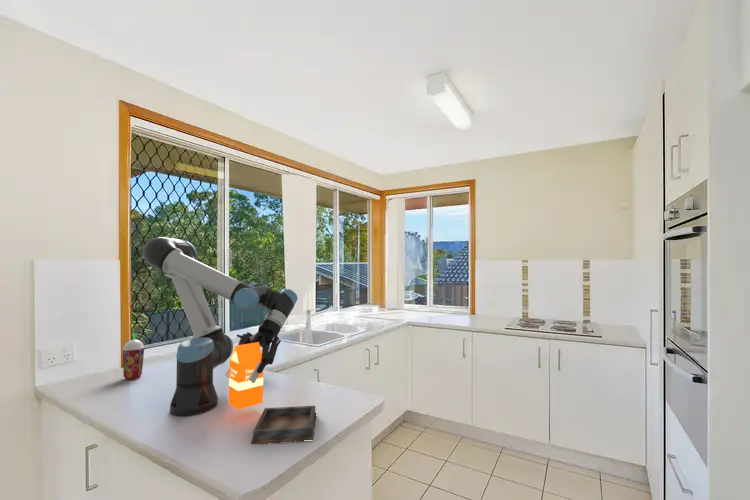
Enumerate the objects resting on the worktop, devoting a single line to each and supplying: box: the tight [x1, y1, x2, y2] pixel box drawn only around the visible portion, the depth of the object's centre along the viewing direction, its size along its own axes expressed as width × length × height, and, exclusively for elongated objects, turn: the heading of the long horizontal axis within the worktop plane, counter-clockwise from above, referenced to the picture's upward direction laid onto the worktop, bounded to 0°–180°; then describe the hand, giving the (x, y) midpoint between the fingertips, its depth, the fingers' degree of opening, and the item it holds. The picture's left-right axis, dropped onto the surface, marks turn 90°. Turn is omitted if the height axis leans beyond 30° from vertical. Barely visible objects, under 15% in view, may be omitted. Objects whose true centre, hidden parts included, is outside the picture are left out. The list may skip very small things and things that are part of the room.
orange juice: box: [228, 342, 264, 410], centre depth 119 cm, size 8×9×20 cm
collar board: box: [250, 405, 317, 445], centre depth 107 cm, size 17×17×4 cm
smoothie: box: [121, 333, 146, 381], centre depth 157 cm, size 8×8×20 cm
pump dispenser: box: [236, 331, 255, 345], centre depth 185 cm, size 10×10×15 cm
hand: (239, 379), depth 117 cm, fingers closed on orange juice, 9 cm apart
